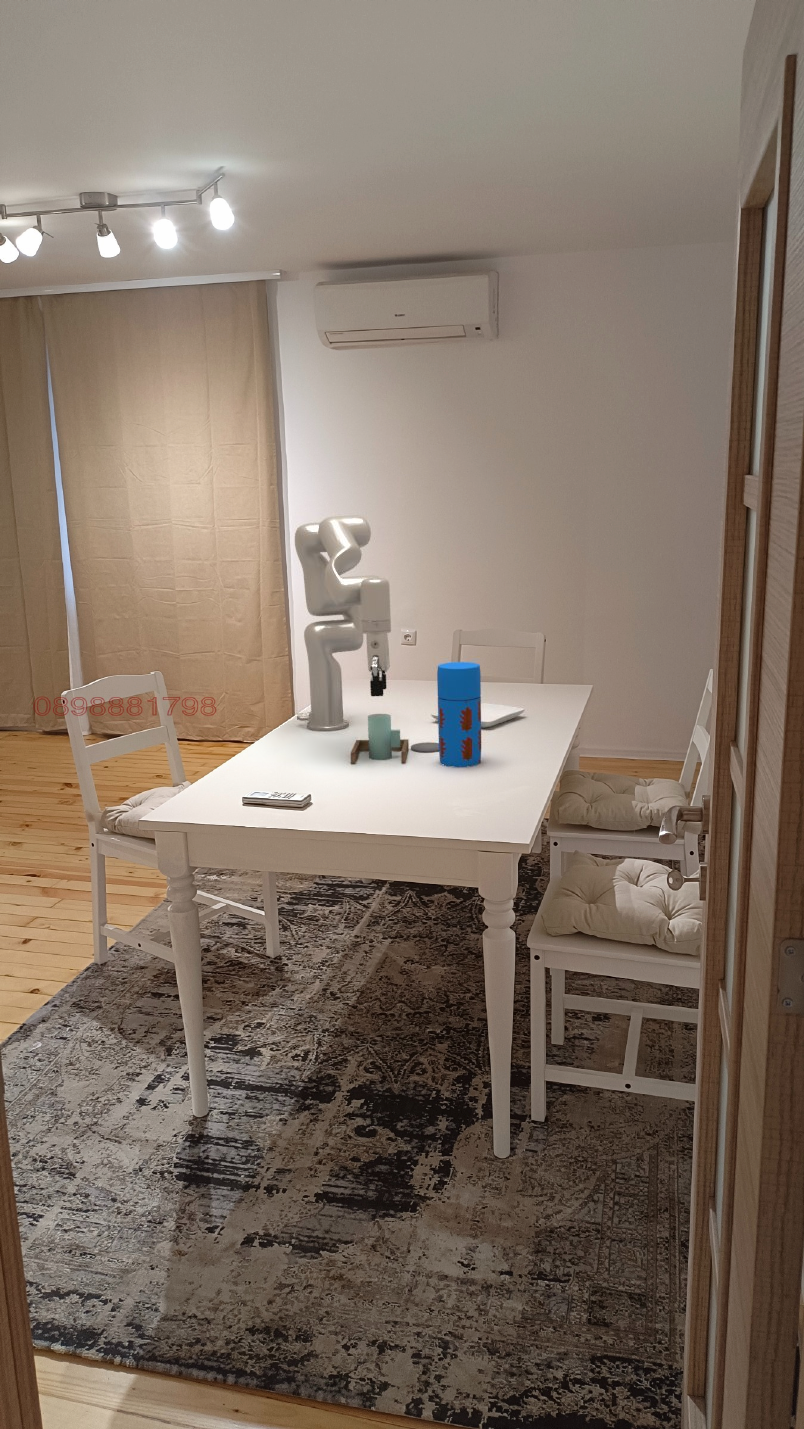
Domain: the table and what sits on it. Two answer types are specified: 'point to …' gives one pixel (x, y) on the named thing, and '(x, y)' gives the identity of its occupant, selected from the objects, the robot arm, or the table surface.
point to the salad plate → (494, 714)
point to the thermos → (459, 713)
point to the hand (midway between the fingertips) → (378, 692)
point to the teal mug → (381, 737)
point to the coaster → (425, 747)
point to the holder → (364, 747)
